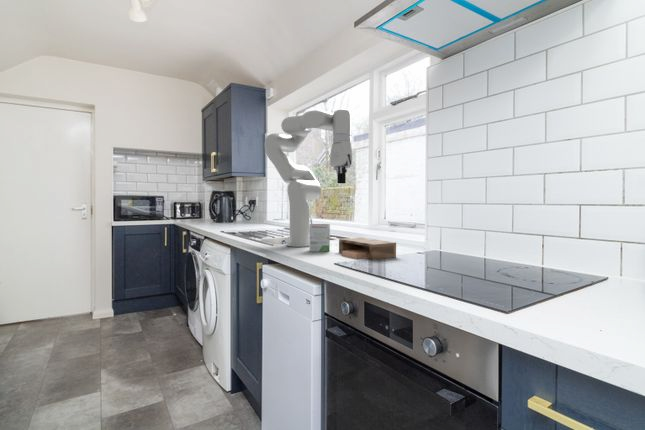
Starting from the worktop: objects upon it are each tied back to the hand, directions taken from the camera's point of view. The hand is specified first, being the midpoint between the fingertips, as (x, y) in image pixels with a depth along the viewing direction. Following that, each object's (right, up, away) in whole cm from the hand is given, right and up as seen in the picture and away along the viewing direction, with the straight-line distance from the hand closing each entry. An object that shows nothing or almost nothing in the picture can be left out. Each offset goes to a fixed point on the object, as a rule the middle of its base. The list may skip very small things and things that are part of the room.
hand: (341, 183), depth 148 cm
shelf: (+9, -30, -9) cm, 32 cm away
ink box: (-9, -29, +2) cm, 31 cm away
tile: (+8, -30, -11) cm, 33 cm away
